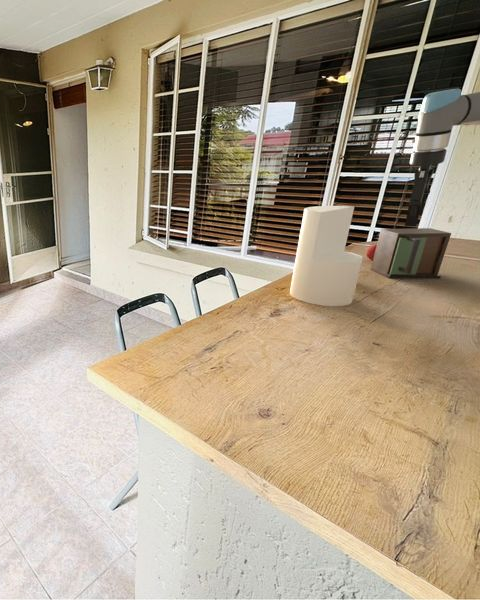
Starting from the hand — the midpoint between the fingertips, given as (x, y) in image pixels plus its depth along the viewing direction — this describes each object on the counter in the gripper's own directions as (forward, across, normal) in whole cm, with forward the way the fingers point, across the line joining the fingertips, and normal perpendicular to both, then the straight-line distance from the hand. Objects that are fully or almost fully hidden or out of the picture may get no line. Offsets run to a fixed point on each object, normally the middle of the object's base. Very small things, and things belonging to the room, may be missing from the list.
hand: (413, 220), depth 113 cm
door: (+22, -6, +1) cm, 23 cm away
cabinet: (+25, -15, -1) cm, 29 cm away
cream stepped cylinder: (+18, +30, -17) cm, 38 cm away
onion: (+26, -29, -11) cm, 41 cm away
